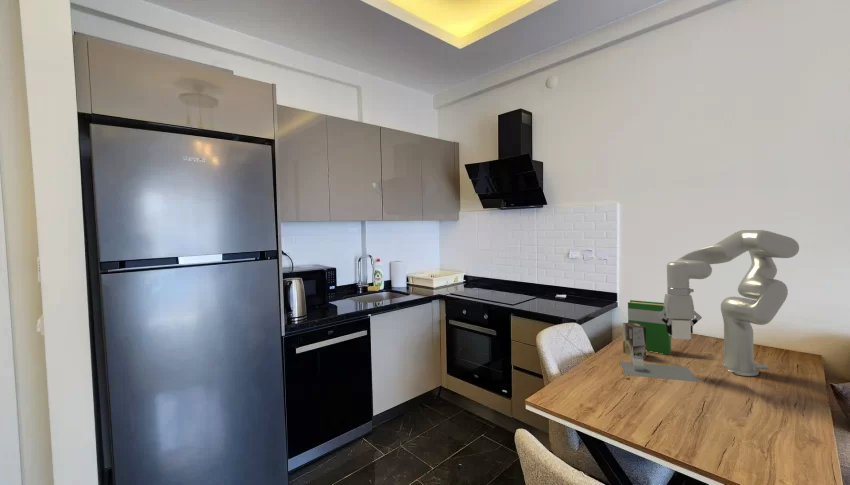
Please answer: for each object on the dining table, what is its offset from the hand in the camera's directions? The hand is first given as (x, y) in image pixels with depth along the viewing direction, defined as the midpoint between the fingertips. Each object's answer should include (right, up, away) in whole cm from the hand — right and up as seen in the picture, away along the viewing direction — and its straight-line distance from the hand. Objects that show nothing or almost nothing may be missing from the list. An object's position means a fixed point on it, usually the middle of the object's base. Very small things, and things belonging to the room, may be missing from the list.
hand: (679, 334), depth 150 cm
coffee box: (-5, -17, +23) cm, 29 cm away
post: (-14, -17, +6) cm, 22 cm away
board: (-7, -18, +3) cm, 20 cm away
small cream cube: (0, -1, 0) cm, 1 cm away
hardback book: (+8, -17, +33) cm, 38 cm away
